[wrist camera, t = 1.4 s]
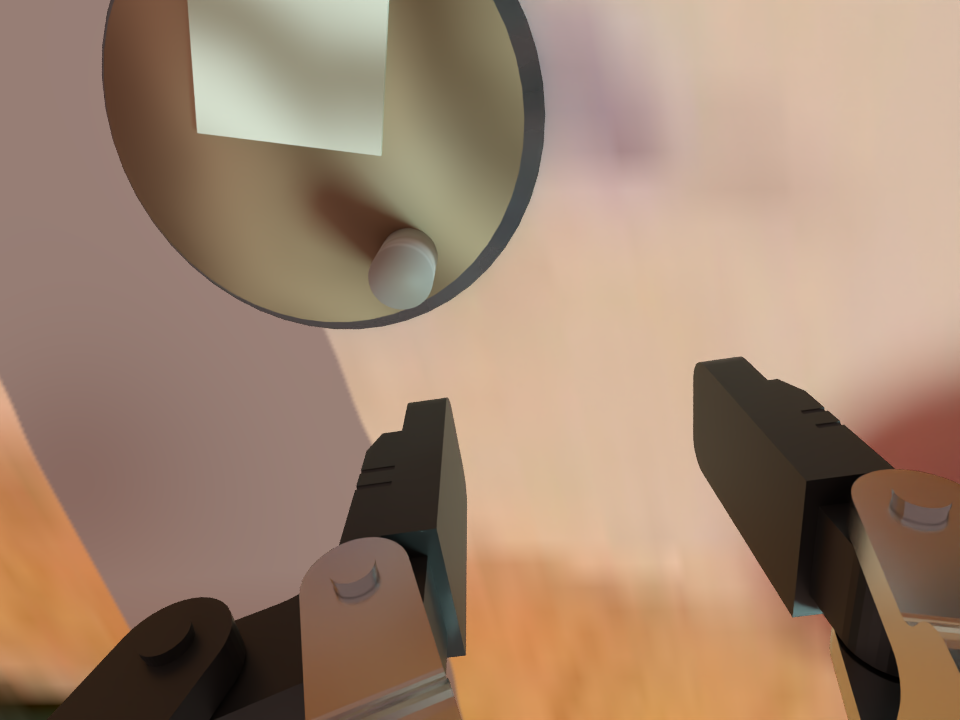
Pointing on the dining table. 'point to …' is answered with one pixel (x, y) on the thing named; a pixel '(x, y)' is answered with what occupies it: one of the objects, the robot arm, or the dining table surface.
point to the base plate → (522, 191)
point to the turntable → (318, 142)
